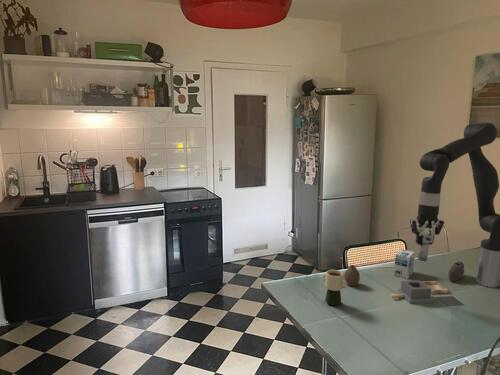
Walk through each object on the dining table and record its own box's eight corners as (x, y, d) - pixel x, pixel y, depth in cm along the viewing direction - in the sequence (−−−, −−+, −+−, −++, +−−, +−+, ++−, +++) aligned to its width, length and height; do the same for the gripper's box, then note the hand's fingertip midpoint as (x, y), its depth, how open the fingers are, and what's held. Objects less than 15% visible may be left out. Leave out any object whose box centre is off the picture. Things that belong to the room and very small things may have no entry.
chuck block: (419, 292, 162) (420, 279, 161) (432, 303, 152) (434, 289, 151) (386, 293, 160) (387, 280, 159) (397, 304, 151) (398, 290, 150)
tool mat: (452, 297, 158) (452, 296, 158) (465, 306, 150) (465, 305, 150) (434, 297, 157) (434, 296, 157) (446, 306, 149) (446, 305, 149)
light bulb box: (407, 279, 175) (409, 257, 174) (393, 275, 179) (395, 254, 178) (413, 272, 184) (415, 251, 182) (399, 268, 188) (401, 248, 186)
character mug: (349, 304, 150) (351, 274, 148) (340, 310, 145) (342, 279, 143) (326, 295, 157) (328, 266, 155) (316, 301, 152) (318, 271, 150)
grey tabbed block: (422, 256, 156) (425, 231, 154) (432, 262, 150) (435, 236, 148) (413, 256, 156) (416, 231, 154) (422, 262, 149) (425, 236, 147)
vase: (357, 281, 172) (359, 263, 171) (360, 287, 165) (361, 269, 164) (342, 280, 173) (343, 262, 171) (344, 287, 166) (346, 268, 164)
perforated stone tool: (455, 285, 170) (457, 271, 169) (443, 281, 173) (444, 267, 172) (465, 276, 180) (467, 262, 179) (454, 273, 184) (455, 259, 183)
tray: (436, 284, 170) (436, 281, 169) (448, 293, 161) (448, 289, 161) (417, 285, 169) (417, 281, 169) (428, 294, 160) (429, 290, 160)
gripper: (440, 201, 153) (435, 241, 156) (407, 201, 152) (403, 241, 154) (451, 205, 146) (446, 247, 149) (417, 205, 144) (412, 247, 147)
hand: (424, 243), depth 152 cm, fingers closed on grey tabbed block, 4 cm apart
